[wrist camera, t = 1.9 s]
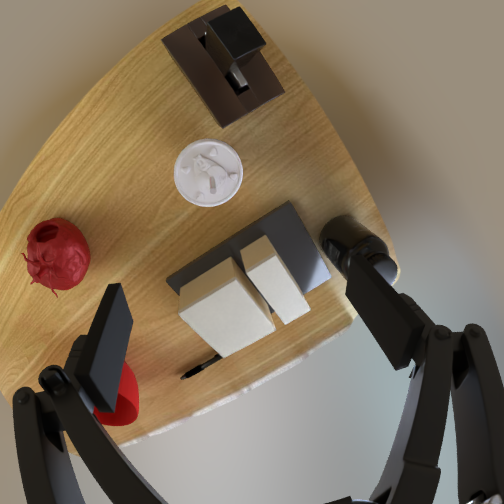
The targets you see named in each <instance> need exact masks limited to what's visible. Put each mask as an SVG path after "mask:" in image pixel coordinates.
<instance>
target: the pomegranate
mask: <svg viewBox="0 0 504 504" xmlns="http://www.w3.org/2000/svg"><path fill="white" fill-rule="evenodd" d="M27 240H28V245H27V252H28V259H27V258H26V256H25V254H24V253H21V254H23V256H24V259H25V261H27V270H28V273H29V274H30V275H31V277H32V278H33V281H32V282H31V284H33V283H34V282H36V283H38V282H39V283H41V284H42V285H44V286H46V287H48V288H50V289H51V290H52V292H53V293H54V294H55V295H56V296H57V294H56V293H55V292H54V290H53V289H58V290H69V289H71V288H73V287H75V286H76V285H78V284H79V283H80V282H81V281H82V280H83V278H84V276H85V274H86V272H87V269H88V266H89V263H90V251H89V247H88V244H87V242H86V240H85V238H84V236H83V234H82V232H81V231H80V230H79V229H78V228H77V227H76V226H75V225H73V224H72V223H70V222H69V221H67V220H64V219H62V218H52V219H49V220H46V221H42V222H41V223H39V224H37V225H36V226H35V227H34V228H33V229H32V230H31V232H30V234H29V235H28V237H27Z"/></svg>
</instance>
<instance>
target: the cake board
mask: <svg viewBox="0 0 504 504" xmlns="http://www.w3.org/2000/svg"><path fill="white" fill-rule="evenodd" d="M264 235H266V236H267V238H268V239H269V241H270V242H271V244H272V245H273V247H274V248H275V250H276V251H277V253H278V255H279V256H280V258H281V259H282V261H283V262H284V264H285V265H286V267H287V269H288V270H289V272H290V273H291V275H292V276H293V278H294V279H295V281H296V283H297V284H298V286H299V288H300V290H301V291H302V293H303V295H304V294H305V293H307V292H309V291H310V290H312V289H313V288H315V287H317V286H318V285H320V284H322V283H323V282H325V281H326V280H328V279H330V278H331V277H332V276H331V274H330V273H329V271H328V269H327V267H326V265H325V263H324V261H323V259H322V257H321V256H320V254H319V252H318V250H317V248H316V246H315V245H314V243H313V241H312V239H311V237H310V235H309V234H308V232H307V230H306V228H305V226H304V225H303V223H302V221H301V219H300V218H299V216H298V214H297V212H296V211H295V209H294V207H293V205H292V204H291V202H290V201H289V200H288V201H287V202H285V203H283V204H282V205H280V206H279V207H277V208H275V209H274V210H272V211H271V212H269V213H267V214H266V215H264V216H262V217H261V218H259V219H258V220H256V221H254V222H253V223H251V224H250V225H248V226H247V227H245V228H243V229H242V230H240V231H239V232H237V233H235V234H234V235H232V236H231V237H229V238H228V239H226V240H224V241H223V242H221V243H220V244H218V245H217V246H215V247H213V248H212V249H210V250H209V251H207V252H206V253H204V254H203V255H201V256H199V257H198V258H196V259H195V260H193V261H192V262H190V263H189V264H187V265H186V266H184V267H183V268H181V269H179V270H178V271H176V272H175V273H173V274H172V275H170V276H169V277H167V278H166V282H167V283H168V285H169V286H170V287H171V288H172V289H173V290H174V291H175V292H176V293H177V294H178V295H179V296H180V288H181V287H183V286H184V285H186V284H188V283H189V282H191V281H192V280H194V279H196V278H197V277H199V276H200V275H202V274H203V273H205V272H207V271H208V270H210V269H211V268H213V267H215V266H216V265H218V264H219V263H221V262H223V261H224V260H226V259H227V258H229V257H232V258H233V260H234V261H235V262H236V264H237V265H238V266H239V267H240V269H241V270H242V271H243V273H244V274H245V275H246V277H247V278H248V279H249V281H250V282H251V283H252V285H253V286H254V287H255V289H256V290H257V291H258V292H259V294H260V295H261V296H262V298H263V299H264V300H265V302H266V303H267V304H268V307H269V310H270V313H273V312H275V311H274V309H273V308H272V307H271V306H270V304H269V303H268V302H267V300H266V299H265V298H264V296H263V295H262V294H261V292H260V291H259V290H258V288H257V287H256V286H255V284H254V283H253V282H252V280H251V279H250V278H249V277H248V275H247V274H246V271H245V267H244V263H243V260H242V256H241V252H240V250H242V249H243V248H245V247H247V246H248V245H250V244H251V243H253V242H255V241H256V240H258V239H259V238H261V237H263V236H264Z"/></svg>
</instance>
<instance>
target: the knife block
mask: <svg viewBox="0 0 504 504" xmlns="http://www.w3.org/2000/svg"><path fill="white" fill-rule="evenodd" d="M228 11H230V9H229V8H228V7H227V5H223V6H221V7H219V8H217V9H215V10H213V11H211V12H209V13H207V14H205V15H203V16H201V17H199V18H197V19H195V20H193V21H191V22H190V23H188V24H186V25H184V26H183V27H181V28H179V29H177V30H176V31H174V32H172V33H171V34H169V35H167V36H166V37H164V38H163V39H161V41H162V43H163V44H164V46H165V48H166V49H167V51H168V53H169V55H170V56H171V58H172V59H173V60H174V62H175V63H176V65H177V66H178V67H179V69H180V70H181V72H182V73H183V74H184V76H185V77H186V79H187V80H188V82H189V83H190V84H191V86H192V87H193V89H194V90H195V92H196V93H197V95H198V96H199V98H200V99H201V100H202V102H203V103H204V105H205V106H206V108H207V109H208V111H209V112H210V114H211V115H212V117H213V118H214V120H215V121H216V123H217V124H218V125H219V126H220V127H221V128H225V127H226V126H228V125H230V124H231V123H233V122H234V121H236V120H238V119H239V118H241V117H243V116H245V115H246V114H248V113H250V112H251V111H253V110H255V109H257V108H258V107H260V106H262V105H264V104H265V103H267V102H269V101H271V100H273V99H274V98H276V97H278V96H280V95H282V94H284V93H285V91H284V89H283V87H282V86H281V84H280V82H279V81H278V79H277V78H276V76H275V74H274V73H273V71H272V70H271V68H270V67H269V65H268V63H267V62H266V60H265V59H264V57H263V56H262V54H261V53H260V51H259V52H258V53H257V54H256V55H255V56H254V57H253V58H252V59H251V60H250V62H249V63H248V64H247V65H245V66H243V67H242V68H240V69H239V70H240V72H241V73H242V75H243V76H244V78H245V79H246V81H247V82H248V84H246V85H245V86H243V87H242V88H240V89H239V90H238V91H236V92H234V91H233V89H232V88H231V86H230V85H229V83H228V82H227V80H226V79H225V77H224V76H223V74H222V73H221V72H220V70H219V69H218V67H217V66H216V64H215V63H214V61H213V60H212V59H211V57H210V56H209V54H208V53H207V51H206V50H205V48H204V37H205V32H206V30H207V22H208V21H210V20H212V19H214V18H216V17H218V16H220V15H222V14H224V13H226V12H228Z"/></svg>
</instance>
